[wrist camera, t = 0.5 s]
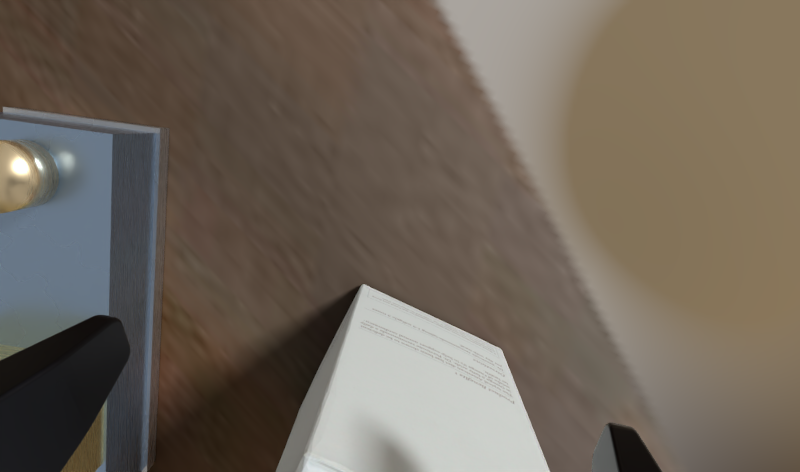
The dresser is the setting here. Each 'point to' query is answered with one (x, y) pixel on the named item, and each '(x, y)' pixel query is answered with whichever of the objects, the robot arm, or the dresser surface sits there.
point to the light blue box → (87, 251)
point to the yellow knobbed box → (91, 447)
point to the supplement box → (410, 400)
